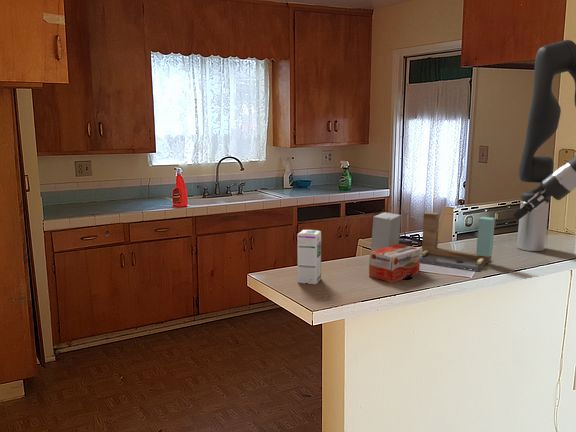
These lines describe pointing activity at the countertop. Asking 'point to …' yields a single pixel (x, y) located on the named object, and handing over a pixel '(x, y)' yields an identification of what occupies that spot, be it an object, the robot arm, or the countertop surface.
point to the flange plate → (451, 261)
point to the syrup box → (309, 256)
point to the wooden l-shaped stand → (432, 240)
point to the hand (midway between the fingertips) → (518, 215)
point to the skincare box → (385, 230)
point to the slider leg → (485, 237)
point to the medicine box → (394, 262)
